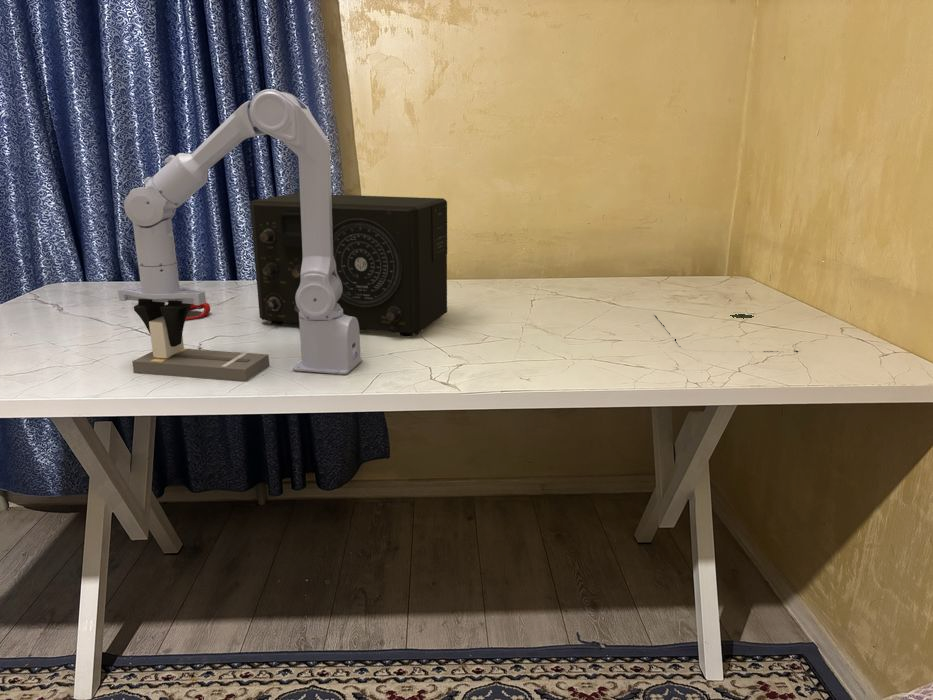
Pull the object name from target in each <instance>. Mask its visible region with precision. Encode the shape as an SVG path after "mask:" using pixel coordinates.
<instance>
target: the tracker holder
mask: <svg viewBox="0 0 933 700" xmlns="http://www.w3.org/2000/svg"><path fill="white" fill-rule="evenodd" d="M165 305H168V302H165ZM202 309H203V312H202V313H201V314H200V315H197V316H196V315H195V316H189V317H188V316H187V317H186V320H185V321H189V320H196V319H202V318H205V317H207V316H208V315H209V314H210V312H211V305H210V304H209V303H208V302H206V303H204V304H201V305H194V304H191V308H190V310H189V312H191V311H194V310H202Z"/></svg>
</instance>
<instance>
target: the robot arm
mask: <svg viewBox="0 0 933 700" xmlns="http://www.w3.org/2000/svg"><path fill="white" fill-rule="evenodd" d="M264 135H269V136H270V137H272V138H274V139H277V140H279V141H281V142H282V143H283V144H284V145H285V146H286V147H288V149H290V151H292V152H293V154H295V155H296V156H297V159H298V176H299V177H298V179H299V193H300V206H301V229H302V253H303V260H302V266H301V273H300V275H301V282H300V286H299V288H298V290H297V292H296V296H295V300H296V305H297V307H298V309H299V310H300V311H299V323H298V325H299V338H300V340H299V341H300V352H301V361H300V362H298V363H296V364H295V365H294V366H293V367H292V371H296V372H310V373H322V374H324V373H325V374H334V375H335V374H336V375H347V374H348V373H349V372H351V371H352V370H353V369H355V367H356V366H358V364H359V363H361V362H362V361H363V358H362V357H361V338H360V337H361V334H360V333H361V332H360V329H359V323H358V320H357V318H355V317H352V316H347V315H345V314H343V309H342V308H341V307H340V305H339V304H338V303H337V301H338V300H339V298H340V297H341V294H342V283H341V280H340V279H339V277H338V275H337V271H336V262H335V259H334V256H333V230H332V196H331V195H332V166H331V162H332V161H331V145H330V141H329V139H328V137H327V136H326V134H325V133H324V131H323V130H322V128H321V127H320V125H319V124H318V122H317V121H316V119H315V117H314V116H313V114H312V112H311V111H310V108H309V106H307V105H306V103H304V102H303V101H301V100H300V99H299V98H297V97H296V96H295V95H294V94H291V93H290V92H287V91H279V90H276V89H271V88H267V89H264V90H261V91H258V93H256V94H255V96H253V97H252V99H251V100H247V101H246V102H244V103H243V104H241V105H240V106H239V107H238V108H237V109H236V110H235V111H233V112H232V113H231V114H230V115H229V116H228V118H226V119H225V120H224V121H223V122H222V123H221V124H220V125H219V126H218V127H217V128H216V129H215V130H214V131H213V132H212V133H211V134H210V135H209V136H208V137H206V139H205V140H203V142H202V143H201V144H200V145H199V146H198V147H197V148H196V149H195V150H193V152H191V153H184V152H179V153H177V154H176V155H174V154H170V155H169V156H167V157H166V158H165V159H164V162H165V165H164V166H162V168H161V169H160V170H158V172H156V173H155V174H154V175H153V176H147V177H146V178H144V180H143V182H144V183H145V184H144V186H143V187H140V186H139V187H136V188H135V187H134V188H133V189H130V191H129V193H128V194H127V196H126V197H125V199H124V202H123V208H124V210H123V211H124V212H125V215H126V216H127V218H128V219H129V220H130V221H131V222H132V227H133V234H134V235H133V236H134V243H135V250H136V258H137V265H138V274H139V280H140V286H124V287H122V288H117V294H118V299H119V300H118V301H119V302H126V301H136V302H137V304H136V305H133V310H134V312H135V313H136V314H137V316H139V318H140V319H141V320H142V322H143V324H144V325H145V327H146V329H147V330H148V334H149V335H150V328H149V322H150V321H152V320H154V319H157V318H159V317H162V316H163V317H164V319H165V322H166V326H167V331H168V338H169V342H170V345H171V347H175V346H177V345H179V344H181V340H182V336H183V331H184V326H185V323H186V321H187V320H186V318H187V317H188V314H189V312H190V311H189V310H190V308H191V304H194V305H201V304H204V303H207V300H206V291H204V290H195V289H190V288H184V287H181V286H180V281H179V280H180V279H179V272H178V261H177V254H176V245H175V244H176V243H175V237H174V233H173V232H174V231H173V223H172V219H173V217H174V216H175V214H176V211H177V208H179V207H181V206H182V205H183V204H185V202H187V201H188V200H189V199H190V198H191V197H192V196H193V195H194V194H195V193H196V192H198V191H199V190H200V189H201V188H202V187H204V185H206V184H207V183H208V172H209V169H210V168H212V167H213V166H214V165H215V164H217V163H218V162H219V161H220V160H222V159H223V158H224V157H225V156H226V155H228V154H229V152H231V151H233V149H235V148H236V147H237V146H238V145H239V144H241V143H242V142H243V141H245V140H246V139H248V138H254V137H259V136H264ZM166 303H167V304H168V305H165V304H166ZM150 337H151V335H150Z"/></svg>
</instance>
